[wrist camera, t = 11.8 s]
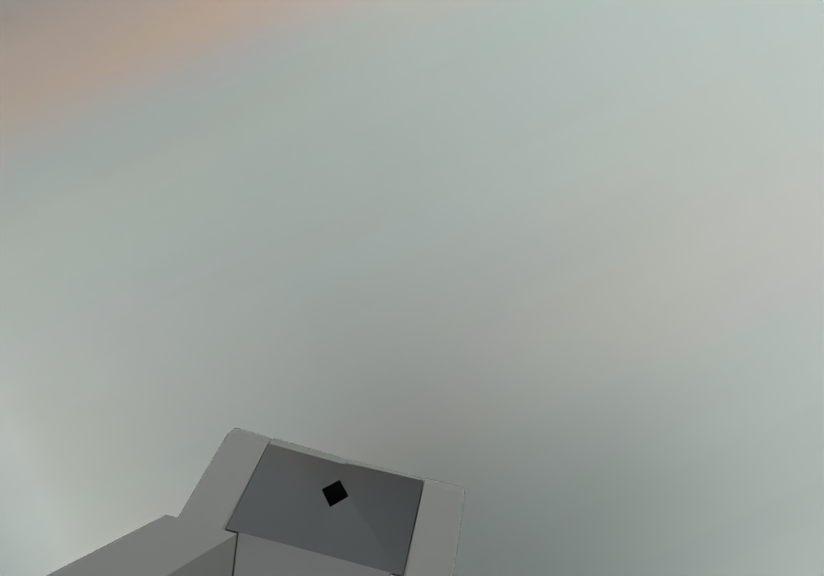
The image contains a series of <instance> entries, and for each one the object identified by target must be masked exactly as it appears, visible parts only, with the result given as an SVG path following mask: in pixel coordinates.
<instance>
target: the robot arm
mask: <svg viewBox="0 0 824 576" xmlns="http://www.w3.org/2000/svg"><path fill="white" fill-rule="evenodd" d="M464 496H465V492H464V489H463V487H459V486H455V485H451V484H447V483H443V482H439V481H435V480H431V479H426V478H425V479H424V481H423V478H420V477H416V476H412V475H408V474H404V473H400V472H396V471H392V470H388V469H384V468H381V467H377V466H373V465H369V464H365V463H361V462H357V461H353V460H349V459H345V458H341V457H338V456H335V455H331V454H328V453H324V452H321V451H317V450H314V449H310V448H307V447H303V446H300V445H296V444H293V443H289V442H286V441H282V440H279V439H275V438H273V439H271V438H269V437H265V436H262V435H258V434H255V433H252V432H248V431H245V430H241V429H238V428H235V429H233V430H232V431H231V432H230V433H228V434H227V436H226V437H225V439H224V441H223V442H222V444H221V446H220V447H219V449H218V451H217V453H216V454H215V456H214V458H213V459H212V461H211V463H210V464H209V466H208V468H207V469H206V471H205V473H204V474H203V476H202V478H201V479H200V481H199V483H198V485H197V486H196V488H195V490H194V491H193V493H192V495H191V496H190V498H189V500H188V501H187V503H186V505H185V506H184V508H183V510H182V512H181V513H180V515H179V517H178V518H177V517H173V516H169V515H165V516H163V517H161V518H159V519H157V520H155V521H153V522H151V523H149V524H147V525H145V526H143V527H141V528H139V529H137V530H135V531H133V532H131V533H129V534H127V535H125V536H123V537H121V538H119V539H117V540H115V541H113V542H111V543H109V544H108V545H106V546H104V547H102V548H100V549H98V550H96V551H94V552H92V553H90V554H88V555H86V556H84V557H82V558H80V559H78V560H76V561H74V562H72V563H70V564H68V565H66V566H64V567H62V568H60V569H58V570H56V571H54V572H52V573H50V574H49V575H47V576H453V575H454V568H455V561H456V553H457V546H458V539H459V532H460V525H461V517H462V510H463V503H464Z"/></svg>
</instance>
